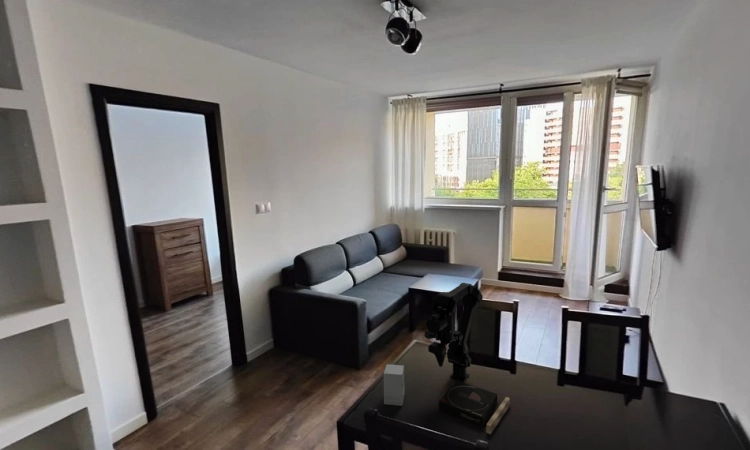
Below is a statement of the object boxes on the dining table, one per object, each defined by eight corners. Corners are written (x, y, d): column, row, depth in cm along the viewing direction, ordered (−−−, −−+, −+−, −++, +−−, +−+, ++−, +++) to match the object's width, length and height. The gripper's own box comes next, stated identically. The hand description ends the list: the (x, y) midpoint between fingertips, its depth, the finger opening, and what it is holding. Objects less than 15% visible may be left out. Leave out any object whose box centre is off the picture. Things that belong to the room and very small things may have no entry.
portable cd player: (497, 402, 135) (497, 392, 134) (482, 428, 121) (482, 417, 120) (456, 389, 144) (456, 379, 144) (438, 411, 130) (438, 401, 130)
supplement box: (402, 406, 133) (402, 375, 132) (383, 404, 135) (382, 373, 133) (405, 394, 140) (404, 365, 139) (386, 393, 142) (386, 363, 140)
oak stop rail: (506, 404, 133) (506, 396, 132) (509, 405, 132) (509, 398, 131) (486, 432, 118) (486, 424, 118) (490, 434, 117) (490, 426, 117)
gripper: (439, 313, 152) (439, 347, 154) (416, 327, 138) (416, 365, 140) (463, 319, 145) (463, 355, 147) (441, 335, 131) (441, 374, 133)
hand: (446, 361), depth 142 cm, fingers open, 9 cm apart
